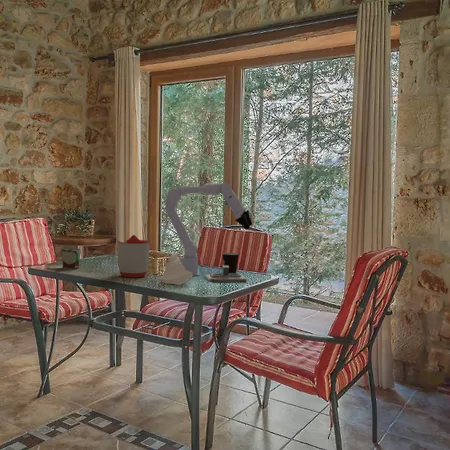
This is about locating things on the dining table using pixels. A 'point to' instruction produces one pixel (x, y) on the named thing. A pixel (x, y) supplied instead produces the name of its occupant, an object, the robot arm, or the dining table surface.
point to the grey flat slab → (224, 276)
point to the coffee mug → (230, 261)
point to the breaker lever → (225, 270)
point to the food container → (70, 257)
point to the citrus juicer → (133, 257)
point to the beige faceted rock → (175, 272)
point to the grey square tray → (228, 280)
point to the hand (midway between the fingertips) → (249, 226)
